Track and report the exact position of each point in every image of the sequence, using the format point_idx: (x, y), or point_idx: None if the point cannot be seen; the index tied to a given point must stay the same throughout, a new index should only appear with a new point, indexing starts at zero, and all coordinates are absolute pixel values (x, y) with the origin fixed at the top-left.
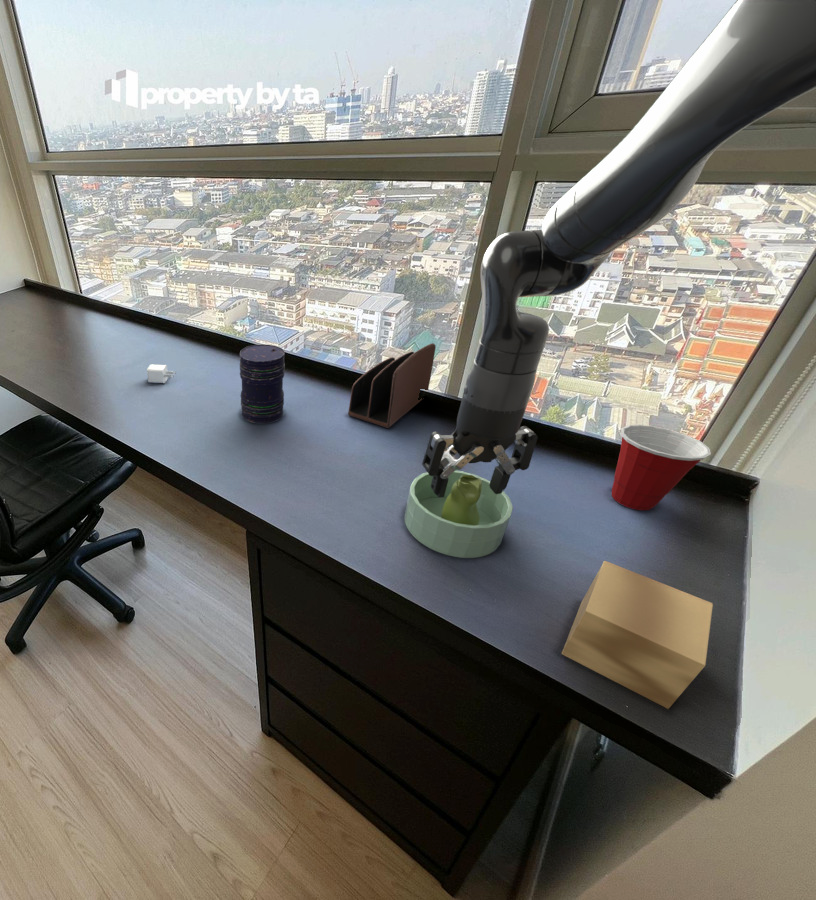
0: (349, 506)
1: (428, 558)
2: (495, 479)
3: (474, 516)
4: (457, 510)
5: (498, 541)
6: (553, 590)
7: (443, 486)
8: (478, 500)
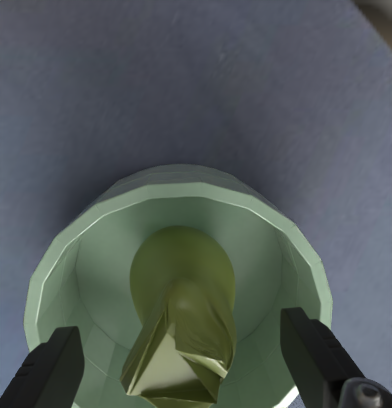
0: (387, 333)
1: (278, 165)
2: (64, 391)
3: (160, 255)
4: (219, 268)
5: (100, 195)
6: (14, 45)
7: (320, 343)
8: (95, 344)
